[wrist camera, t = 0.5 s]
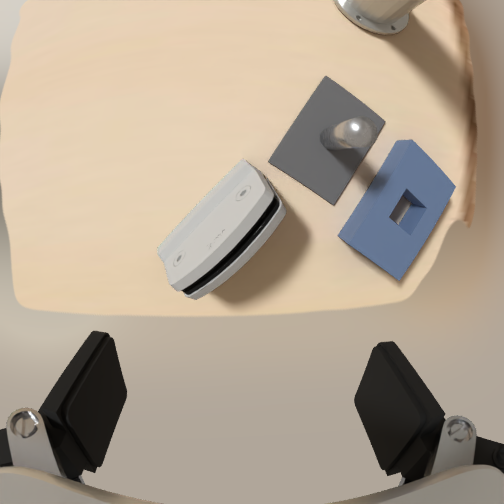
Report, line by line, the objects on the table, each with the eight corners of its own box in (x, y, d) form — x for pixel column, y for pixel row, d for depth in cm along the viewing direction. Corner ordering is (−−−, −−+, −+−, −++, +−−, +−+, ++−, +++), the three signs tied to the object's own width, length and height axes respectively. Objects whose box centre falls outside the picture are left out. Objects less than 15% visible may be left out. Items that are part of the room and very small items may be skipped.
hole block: (396, 140, 33) (412, 139, 30) (439, 183, 35) (455, 186, 31) (337, 235, 37) (348, 244, 33) (386, 270, 39) (399, 280, 35)
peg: (327, 122, 32) (358, 109, 23) (346, 136, 33) (382, 129, 23) (315, 141, 33) (343, 134, 23) (334, 154, 34) (368, 153, 24)
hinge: (245, 156, 34) (273, 179, 25) (269, 180, 36) (302, 211, 28) (155, 249, 37) (156, 298, 28) (182, 267, 39) (190, 317, 31)
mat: (324, 76, 31) (325, 75, 30) (384, 121, 32) (385, 121, 32) (267, 161, 34) (268, 161, 34) (332, 204, 36) (333, 205, 35)
